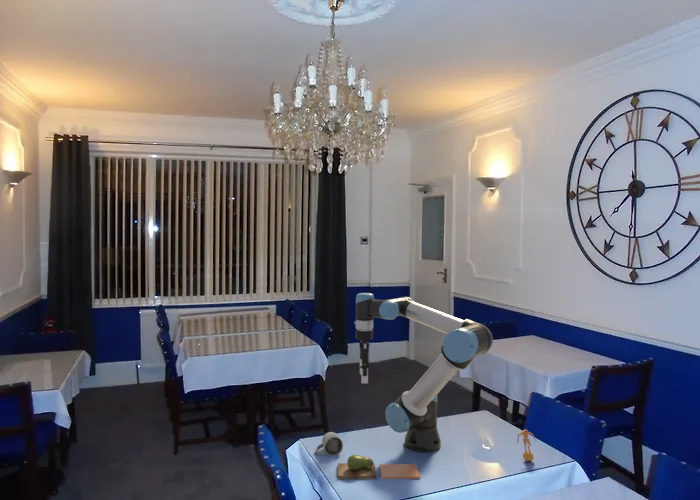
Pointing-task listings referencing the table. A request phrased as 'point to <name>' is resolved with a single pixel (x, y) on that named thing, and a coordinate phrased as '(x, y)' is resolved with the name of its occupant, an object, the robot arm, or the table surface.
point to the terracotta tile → (399, 471)
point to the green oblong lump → (359, 462)
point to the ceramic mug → (330, 444)
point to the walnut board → (355, 472)
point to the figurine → (527, 454)
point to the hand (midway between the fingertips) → (363, 378)
